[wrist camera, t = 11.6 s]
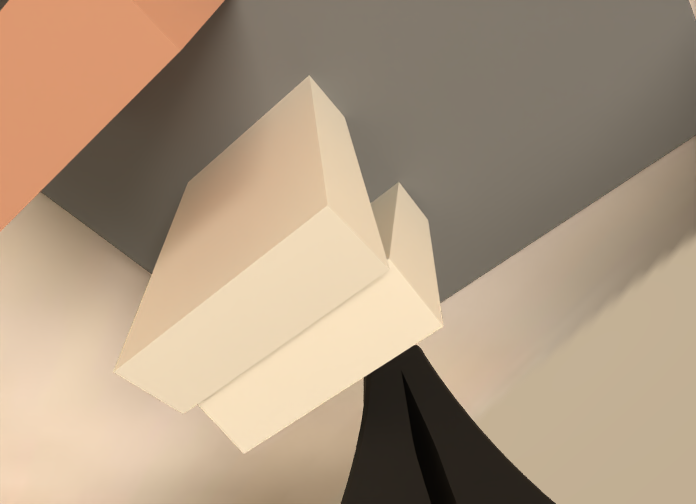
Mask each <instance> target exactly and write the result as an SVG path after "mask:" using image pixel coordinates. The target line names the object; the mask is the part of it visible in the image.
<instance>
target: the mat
mask: <svg viewBox="0 0 696 504" xmlns="http://www.w3.org/2000/svg"><path fill="white" fill-rule="evenodd" d="M8 1H9V0H0V11H1V9H2V8H3V7H4V6H5V5H6V3H7V2H8ZM309 75H310V77H311V78H312V79H313V80H314V81H315V83H316V84H317V85H318V86H319V87H320V88H321V90H322V91H323V92H324V93H325V94H326V96H327V97H328V98H329V99H330V100H331V102H332V103H333V104H334V105H335V106H336V108H337V109H338V110H339V111H340V112H341V114H342V115H343V116H344V117H345V120H346V123H347V127H348V130H349V133H350V137H351V140H352V144H353V147H354V150H355V154H356V157H357V160H358V164H359V167H360V171H361V174H362V177H363V181H364V184H365V187H366V191H367V194H368V197H369V201H370V203H371V202H373V201H374V200H375V199H377V198H378V197H379V196H381V195H382V194H383V193H385V192H386V191H387V190H389V189H390V188H391V187H393V186H394V185H395V184H397V183H398V182H399V183H400V184H401V185H402V187H403V188H404V189H405V190H406V192H407V193H408V194H409V196H410V197H411V198H412V200H413V201H414V202H415V204H416V205H417V206H418V207H419V209H420V210H421V211H422V213H423V214H424V215H425V217H426V218H427V219H428V222H429V229H430V236H431V243H432V250H433V257H434V264H435V271H436V278H437V285H438V292H439V299H440V303H441V302H442V301H444V300H445V299H447V298H449V297H450V296H452V295H453V294H455V293H456V292H458V291H459V290H461V289H462V288H464V287H465V286H467V285H468V284H470V283H471V282H473V281H474V280H476V279H477V278H479V277H481V276H482V275H484V274H485V273H487V272H488V271H490V270H491V269H493V268H494V267H496V266H497V265H499V264H500V263H502V262H503V261H505V260H506V259H508V258H509V257H511V256H512V255H514V254H516V253H517V252H519V251H520V250H522V249H523V248H525V247H526V246H528V245H529V244H531V243H532V242H534V241H535V240H537V239H538V238H540V237H541V236H543V235H544V234H546V233H548V232H549V231H551V230H552V229H554V228H555V227H557V226H558V225H560V224H561V223H563V222H564V221H566V220H567V219H569V218H570V217H572V216H573V215H575V214H576V213H578V212H579V211H581V210H583V209H584V208H586V207H587V206H589V205H590V204H592V203H593V202H595V201H596V200H598V199H599V198H601V197H602V196H604V195H605V194H607V193H608V192H610V191H611V190H613V189H614V188H616V187H618V186H619V185H621V184H622V183H624V182H625V181H627V180H628V179H630V178H631V177H633V176H634V175H636V174H637V173H639V172H640V171H642V170H643V169H645V168H646V167H648V166H650V165H651V164H653V163H654V162H656V161H657V160H659V159H660V158H662V157H663V156H665V155H666V154H668V153H669V152H671V151H672V150H674V149H675V148H677V147H678V146H680V145H681V144H683V143H685V142H686V141H688V140H689V139H691V138H692V137H694V136H695V135H696V19H695V17H694V14H693V11H692V8H691V5H690V3H689V0H225V1H224V2H223V3H222V4H221V5H220V6H219V7H218V9H217V10H216V11H215V12H214V13H213V14H212V15H211V17H210V18H209V19H208V20H207V21H206V22H205V23H204V25H203V26H202V27H201V28H200V29H199V30H198V31H197V33H196V34H195V35H194V36H193V37H192V38H191V40H190V41H189V42H188V43H187V44H186V45H185V46H184V48H183V49H182V50H181V51H180V52H179V53H178V54H177V55H176V56H175V57H174V58H173V59H172V60H171V61H170V62H169V63H168V64H167V65H166V66H165V67H164V68H163V69H162V70H161V71H160V72H159V73H158V74H157V75H156V76H155V77H154V78H153V79H152V80H151V81H150V82H149V83H148V84H147V85H146V86H145V87H144V88H143V89H142V90H141V91H140V92H139V93H138V94H137V95H136V96H135V97H134V98H133V99H132V100H131V101H130V102H129V103H128V104H127V105H126V106H125V107H124V108H123V109H122V110H121V111H120V112H119V113H118V114H117V115H116V116H115V117H114V118H113V119H112V120H111V121H110V122H109V123H108V124H107V125H106V126H105V127H104V128H103V129H102V130H101V131H100V132H99V133H98V134H97V135H96V136H95V137H94V138H93V139H92V140H91V141H90V142H89V143H88V144H87V145H86V146H85V147H84V148H83V149H82V150H81V151H80V152H79V153H78V154H77V155H76V156H75V157H74V158H73V159H72V160H71V161H70V162H69V163H68V164H67V165H66V166H65V167H64V168H63V169H62V170H61V171H60V172H59V173H58V174H57V175H56V176H55V177H54V178H53V179H52V180H51V181H50V182H49V183H48V184H47V185H46V186H45V187H44V188H43V189H42V190H41V192H42V193H43V194H45V195H46V196H47V197H49V198H50V199H51V200H53V201H54V202H55V203H57V204H58V205H59V206H61V207H62V208H63V209H65V210H66V211H68V212H69V213H70V214H72V215H73V216H74V217H76V218H77V219H78V220H80V221H81V222H82V223H84V224H85V225H86V226H88V227H89V228H90V229H92V230H93V231H94V232H96V233H97V234H98V235H100V236H101V237H103V238H104V239H105V240H107V241H108V242H109V243H111V244H112V245H113V246H115V247H116V248H117V249H119V250H120V251H121V252H123V253H124V254H125V255H127V256H128V257H129V258H131V259H132V260H134V261H135V262H136V263H138V264H139V265H140V266H142V267H143V268H144V269H146V270H147V271H148V272H150V273H151V274H152V272H153V270H154V267H155V265H156V262H157V260H158V257H159V255H160V252H161V250H162V247H163V245H164V242H165V239H166V237H167V234H168V232H169V229H170V227H171V224H172V222H173V219H174V217H175V214H176V212H177V209H178V206H179V204H180V201H181V199H182V196H183V194H184V191H185V189H186V186H187V184H188V182H189V181H190V180H191V179H192V178H193V177H195V176H196V175H197V174H198V173H199V172H200V171H201V170H202V169H204V168H205V167H206V166H207V165H208V164H209V163H210V162H212V161H213V160H214V159H215V158H216V157H217V156H218V155H219V154H221V153H222V152H223V151H224V150H225V149H226V148H227V147H229V146H230V145H231V144H232V143H233V142H234V141H235V140H236V139H238V138H239V137H240V136H241V135H242V134H243V133H244V132H245V131H247V130H248V129H249V128H250V127H251V126H252V125H253V124H255V123H256V122H257V121H258V120H259V119H260V118H261V117H262V116H264V115H265V114H266V113H267V112H268V111H269V110H270V109H272V108H273V107H274V106H275V105H276V104H277V103H278V102H279V101H281V100H282V99H283V98H284V97H285V96H286V95H287V94H288V93H290V92H291V91H292V90H293V89H294V88H295V87H296V86H298V85H299V84H300V83H301V82H302V81H303V80H304V79H305V78H307V77H308V76H309Z"/></svg>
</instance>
